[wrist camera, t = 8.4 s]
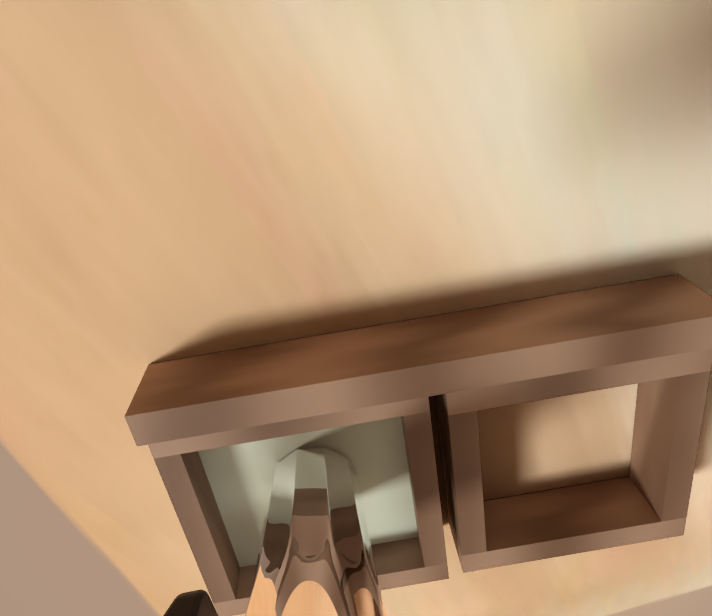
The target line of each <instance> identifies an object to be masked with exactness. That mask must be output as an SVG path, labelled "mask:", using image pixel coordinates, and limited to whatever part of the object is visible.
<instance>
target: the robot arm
mask: <svg viewBox="0 0 712 616" xmlns="http://www.w3.org/2000/svg"><path fill="white" fill-rule="evenodd" d="M164 616H218V614H217V612H216V610H215V608H214V606H213V603H212V601H211V599H210V597H209V595H208V594H207V592H206V591H204V590H197V591H191V592H186V593H182V594H180V595H178V596H177V597H176V598H175V599H174V601H173V602H172V604H171V605H170V607H169V608H168V610H167V611H166V613H165V614H164Z"/></svg>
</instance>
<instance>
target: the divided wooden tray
mask: <svg viewBox="0 0 712 616" xmlns="http://www.w3.org/2000/svg"><path fill="white" fill-rule="evenodd" d="M711 366H712V296H710V295H709V294H707V293H706V292H704V291H703V290H701V289H700V288H698V287H697V286H695V285H694V284H692V283H691V282H689V281H688V280H686V279H685V278H683V277H682V276H680V275H679V274H676V275H671V276H665V277H659V278H653V279H647V280H641V281H635V282H630V283H624V284H618V285H612V286H606V287H600V288H594V289H588V290H583V291H577V292H571V293H565V294H559V295H553V296H547V297H542V298H536V299H530V300H524V301H518V302H512V303H506V304H500V305H495V306H489V307H483V308H477V309H471V310H465V311H459V312H454V313H448V314H442V315H436V316H430V317H424V318H418V319H412V320H407V321H401V322H395V323H389V324H383V325H377V326H371V327H366V328H360V329H354V330H348V331H342V332H336V333H330V334H324V335H319V336H313V337H307V338H301V339H295V340H289V341H283V342H278V343H272V344H266V345H260V346H254V347H248V348H242V349H236V350H231V351H225V352H219V353H213V354H207V355H201V356H195V357H190V358H184V359H178V360H172V361H166V362H160V363H154V364H149V365H148V367H147V369H146V371H145V373H144V376H143V378H142V380H141V382H140V384H139V386H138V389H137V391H136V393H135V395H134V397H133V399H132V402H131V404H130V406H129V408H128V410H127V412H126V415H125V419H126V421H127V423H128V426H129V428H130V431H131V433H132V435H133V438H134V440H135V442H136V445H137V446H142V445H147V444H148V446H149V448H150V451H151V453H152V456H153V458H154V460H155V463H156V465H157V468H158V470H159V472H160V475H161V477H162V480H163V482H164V485H165V487H166V489H167V492H168V494H169V497H170V499H171V502H172V504H173V506H174V509H175V511H176V514H177V516H178V518H179V521H180V523H181V526H182V528H183V531H184V533H185V535H186V538H187V540H188V543H189V545H190V548H191V550H192V552H193V555H194V557H195V560H196V562H197V565H198V567H199V569H200V572H201V574H202V577H203V579H204V581H205V584H206V586H207V589H208V591H209V594H210V596H211V598H212V601H213V603H214V606H215V608H216V611H217V613H218V615H219V616H233V615H238V614H244V613H246V611H247V606H248V602H249V599H250V596H251V591H252V586H253V581H254V575H255V570H256V564H257V559H258V553H259V547H260V542H261V536H262V530H263V525H264V519H265V513H266V508H267V502H268V496H269V491H270V485H271V482H272V478H273V475H274V471H275V467H276V464H277V463H278V462H279V461H281V460H282V459H284V458H285V457H286V456H288V455H289V454H291V453H292V452H294V451H295V450H296V449H303V448H316V447H326V448H328V449H330V450H332V451H334V452H337V453H339V454H341V455H343V456H345V457H347V459H348V461H349V463H350V465H351V467H352V469H353V471H354V473H355V475H356V477H357V481H358V486H359V490H360V495H361V500H362V505H363V510H364V514H365V519H366V524H367V529H368V533H369V538H370V543H371V548H372V553H373V557H374V562H375V567H376V572H377V577H378V582H379V586H380V590H385V589H390V588H396V587H402V586H408V585H414V584H420V583H426V582H431V581H437V580H443V579H449V576H448V567H447V558H446V549H445V540H444V531H443V522H442V513H441V505H440V496H439V487H438V478H437V469H436V460H435V451H434V442H433V433H432V425H431V416H430V407H429V398H428V397H429V396H435V395H436V403H437V412H438V422H439V431H440V441H441V450H442V460H443V469H444V479H445V488H446V498H447V507H448V517H449V525H450V528H451V532H452V535H453V539H454V542H455V546H456V549H457V553H458V556H459V560H460V563H461V567H462V570H463V573H465V572H470V571H476V570H482V569H488V568H494V567H500V566H506V565H511V564H517V563H523V562H529V561H535V560H541V559H546V558H552V557H558V556H564V555H570V554H576V553H582V552H587V551H593V550H599V549H605V548H611V547H617V546H623V545H628V544H634V543H640V542H646V541H652V540H658V539H663V538H669V537H675V536H681V535H684V529H685V523H686V517H687V511H688V505H689V498H690V492H691V486H692V480H693V474H694V468H695V462H696V456H697V450H698V444H699V438H700V432H701V426H702V420H703V414H704V408H705V402H706V396H707V390H708V384H709V378H710V372H711ZM636 383H638V390H637V401H636V411H635V422H634V432H633V442H632V453H631V463H630V474H629V477H623V478H617V479H612V480H606V481H600V482H594V483H588V484H582V485H576V486H571V487H565V488H559V489H553V490H547V491H541V492H536V493H530V494H524V495H518V496H512V497H506V498H500V499H495V500H489V501H483V489H482V473H481V458H480V442H479V427H478V410H484V409H490V408H496V407H501V406H507V405H513V404H519V403H525V402H531V401H537V400H542V399H548V398H554V397H560V396H566V395H572V394H578V393H583V392H589V391H595V390H601V389H607V388H613V387H619V386H625V385H630V384H636Z"/></svg>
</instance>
